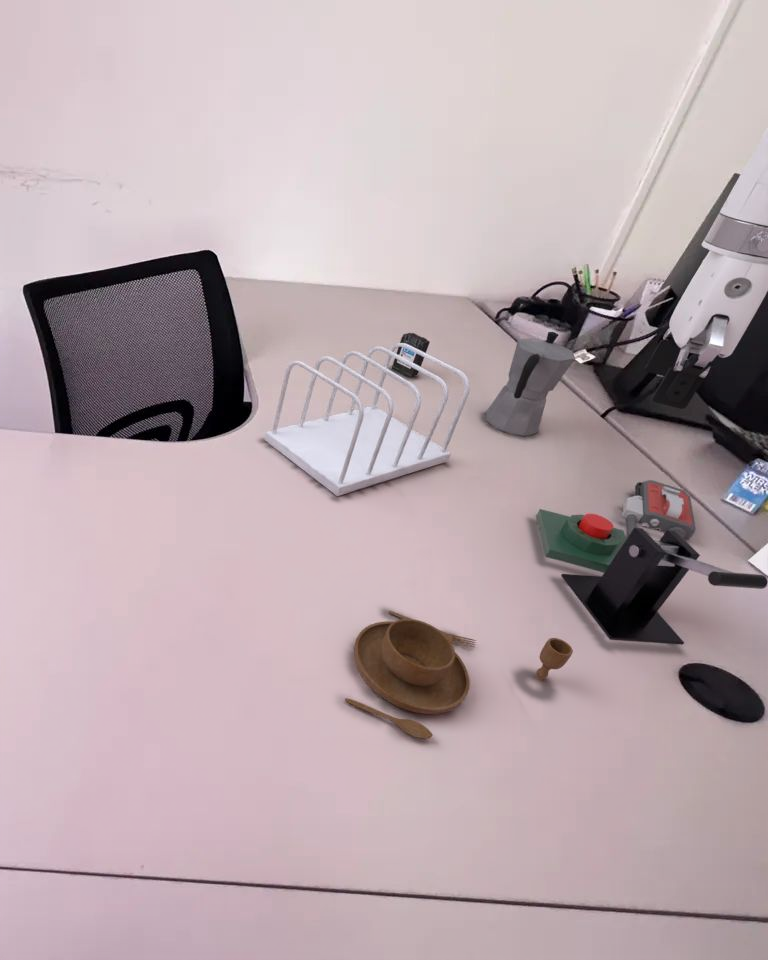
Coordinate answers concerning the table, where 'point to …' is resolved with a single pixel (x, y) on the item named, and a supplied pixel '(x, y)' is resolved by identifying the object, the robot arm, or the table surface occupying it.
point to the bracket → (634, 589)
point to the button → (596, 526)
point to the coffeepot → (529, 385)
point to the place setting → (424, 668)
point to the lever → (710, 570)
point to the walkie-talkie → (660, 509)
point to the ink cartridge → (410, 354)
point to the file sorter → (362, 430)
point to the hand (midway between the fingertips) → (663, 388)
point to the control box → (576, 541)
